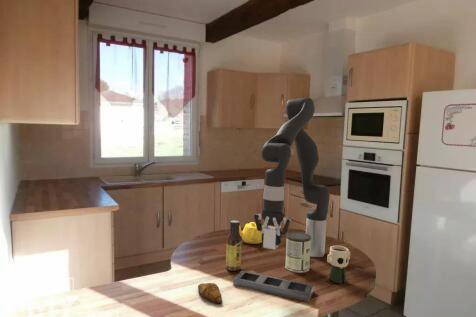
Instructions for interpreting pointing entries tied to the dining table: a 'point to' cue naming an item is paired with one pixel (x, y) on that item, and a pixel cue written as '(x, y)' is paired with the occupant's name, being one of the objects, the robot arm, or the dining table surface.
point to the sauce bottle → (233, 247)
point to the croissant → (210, 292)
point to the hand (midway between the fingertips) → (271, 243)
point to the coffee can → (297, 252)
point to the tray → (274, 285)
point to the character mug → (338, 263)
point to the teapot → (251, 234)
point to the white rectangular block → (270, 238)
